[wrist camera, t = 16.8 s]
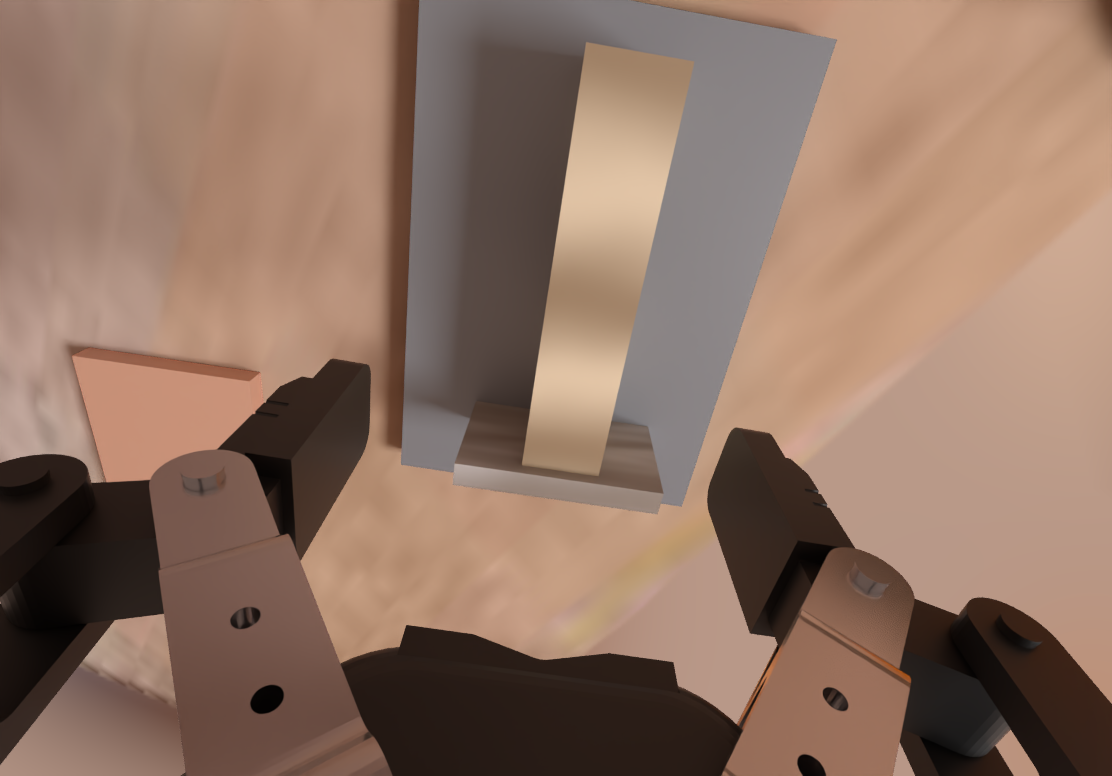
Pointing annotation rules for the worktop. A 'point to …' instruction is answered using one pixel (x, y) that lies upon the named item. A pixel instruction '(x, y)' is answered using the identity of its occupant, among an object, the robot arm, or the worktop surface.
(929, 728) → the robot arm
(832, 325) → the worktop surface
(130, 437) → the tile
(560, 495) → the beige rectangular block
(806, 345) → the worktop surface
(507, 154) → the board
